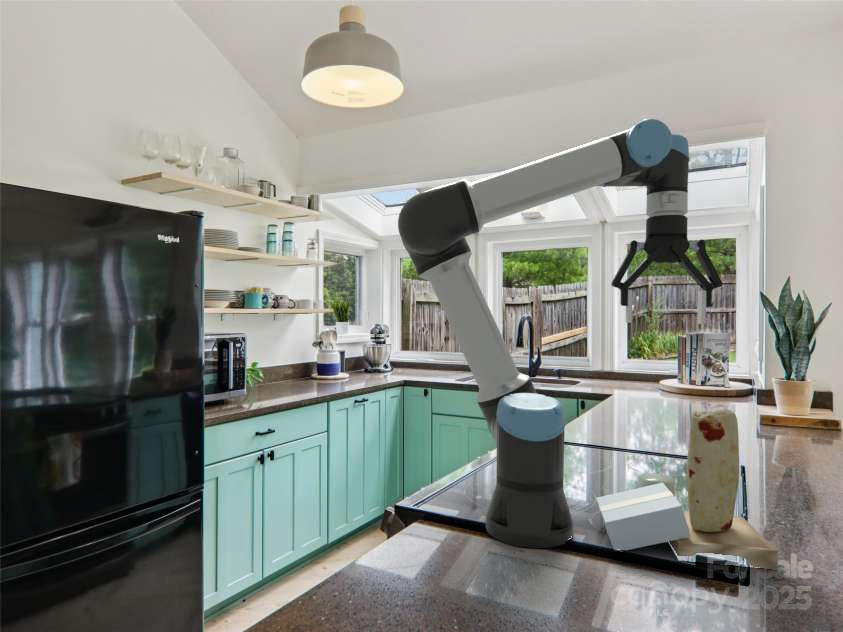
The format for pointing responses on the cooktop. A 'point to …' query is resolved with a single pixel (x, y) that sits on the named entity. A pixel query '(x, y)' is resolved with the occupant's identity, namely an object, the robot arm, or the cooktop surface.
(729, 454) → the food model
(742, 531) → the tan square plate
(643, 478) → the pale green rounded knob
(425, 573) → the cooktop surface
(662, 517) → the flat box
